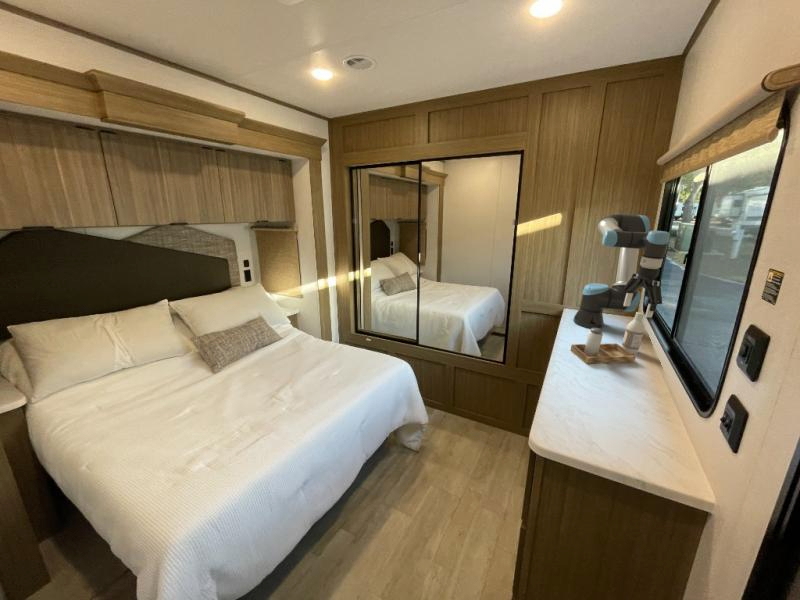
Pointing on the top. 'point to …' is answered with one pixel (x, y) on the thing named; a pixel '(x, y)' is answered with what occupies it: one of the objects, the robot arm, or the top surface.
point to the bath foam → (634, 334)
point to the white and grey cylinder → (593, 342)
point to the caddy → (604, 354)
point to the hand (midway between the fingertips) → (636, 311)
